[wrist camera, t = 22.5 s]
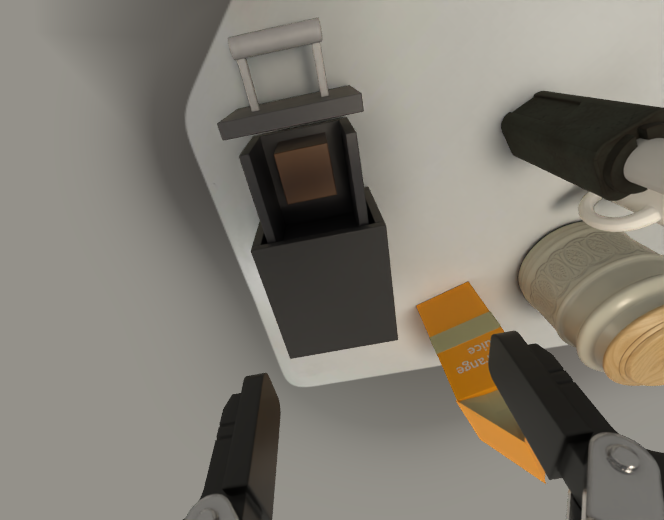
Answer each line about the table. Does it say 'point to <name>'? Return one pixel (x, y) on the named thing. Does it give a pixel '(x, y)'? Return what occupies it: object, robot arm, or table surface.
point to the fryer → (330, 286)
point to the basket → (259, 152)
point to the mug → (644, 204)
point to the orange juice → (475, 370)
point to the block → (305, 168)
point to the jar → (601, 299)
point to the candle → (591, 142)
